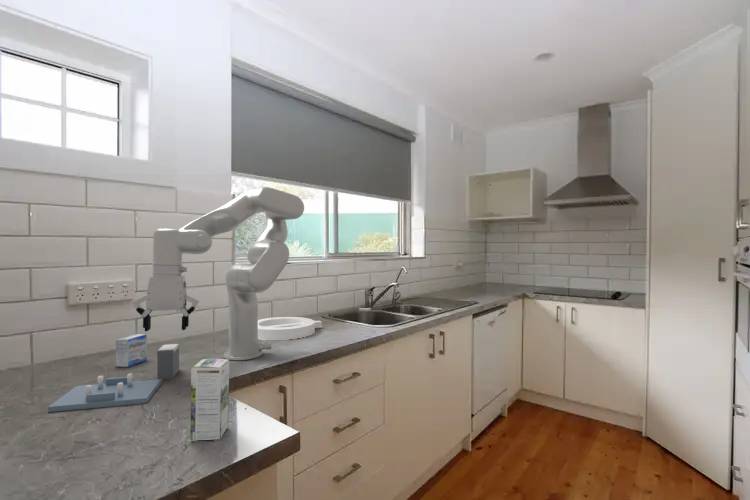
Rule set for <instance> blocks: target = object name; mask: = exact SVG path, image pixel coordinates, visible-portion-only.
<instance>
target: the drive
mask: <svg viewBox="0 0 750 500" xmlns="http://www.w3.org/2000/svg"><path fill="white" fill-rule="evenodd" d="M156 354H157V355H156V356H157V357H156V359H157V372H156V373H157V376H156V378H157V379H162V380H167V379H174V377H175V376H176V375H177V373H178V372H179V371H180V343H167V344H163V345H161V347H159V349H157V352H156Z"/></svg>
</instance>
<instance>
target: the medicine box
mask: <svg viewBox="0 0 750 500" xmlns="http://www.w3.org/2000/svg"><path fill="white" fill-rule="evenodd" d="M147 339H148V338H147V334H146V333H144V334H143V333H135V334H132V335H129V336H128V335H127V336H125V337H121V338H117V339H116V340H115V365H116V367H118V368H119V367H121V368H130V367H133V366H135V365H137V364H140V363H143V362H146V361H147V360H148V359H147V358H148V357H147V356H148V353H147V351H148V349H147V343H148V342H147V341H148V340H147Z"/></svg>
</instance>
